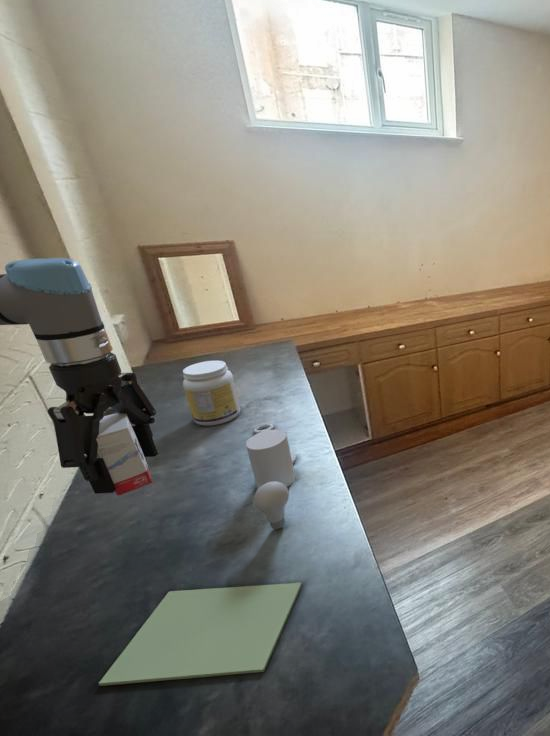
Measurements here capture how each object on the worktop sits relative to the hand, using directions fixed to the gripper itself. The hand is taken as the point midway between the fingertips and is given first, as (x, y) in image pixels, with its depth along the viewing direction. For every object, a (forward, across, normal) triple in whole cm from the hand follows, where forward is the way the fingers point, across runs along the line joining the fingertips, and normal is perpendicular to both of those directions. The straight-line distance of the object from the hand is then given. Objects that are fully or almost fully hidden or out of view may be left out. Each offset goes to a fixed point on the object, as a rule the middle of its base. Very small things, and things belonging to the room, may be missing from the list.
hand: (128, 472), depth 71 cm
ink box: (+2, 0, 0) cm, 2 cm away
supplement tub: (+18, +50, +16) cm, 56 cm away
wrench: (+18, +33, -8) cm, 38 cm away
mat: (+18, -18, -20) cm, 32 cm away
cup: (+18, +18, -15) cm, 29 cm away
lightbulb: (+18, +3, -21) cm, 28 cm away
